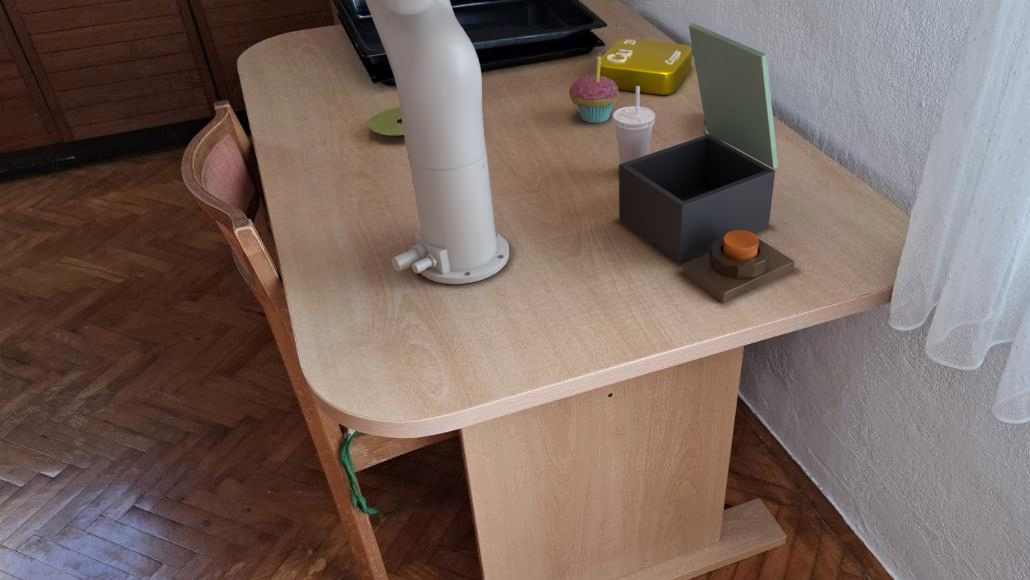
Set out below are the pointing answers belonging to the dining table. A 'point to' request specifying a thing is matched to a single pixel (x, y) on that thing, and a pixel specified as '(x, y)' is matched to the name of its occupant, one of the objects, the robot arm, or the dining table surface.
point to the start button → (740, 245)
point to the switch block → (736, 271)
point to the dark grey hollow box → (694, 196)
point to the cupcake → (594, 96)
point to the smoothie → (633, 130)
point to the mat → (387, 122)
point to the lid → (735, 93)
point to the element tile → (646, 65)
